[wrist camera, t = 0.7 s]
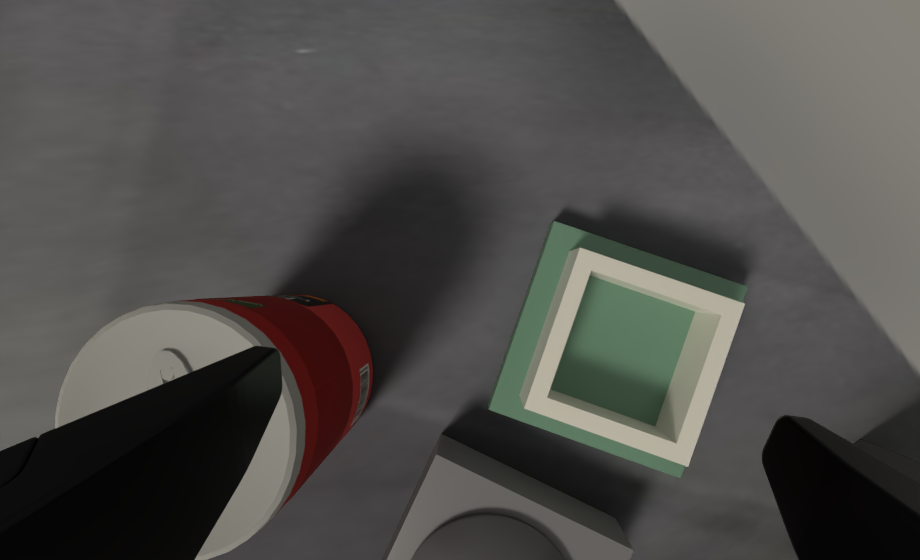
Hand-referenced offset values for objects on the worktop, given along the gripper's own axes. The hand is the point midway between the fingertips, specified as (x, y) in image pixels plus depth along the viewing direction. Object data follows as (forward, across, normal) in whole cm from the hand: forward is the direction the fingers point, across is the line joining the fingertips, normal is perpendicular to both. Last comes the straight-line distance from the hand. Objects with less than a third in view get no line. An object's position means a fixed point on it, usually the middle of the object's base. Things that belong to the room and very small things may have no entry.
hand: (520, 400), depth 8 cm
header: (+15, -6, +7) cm, 17 cm away
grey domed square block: (+10, -1, +18) cm, 20 cm away
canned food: (+14, +10, +10) cm, 19 cm away
